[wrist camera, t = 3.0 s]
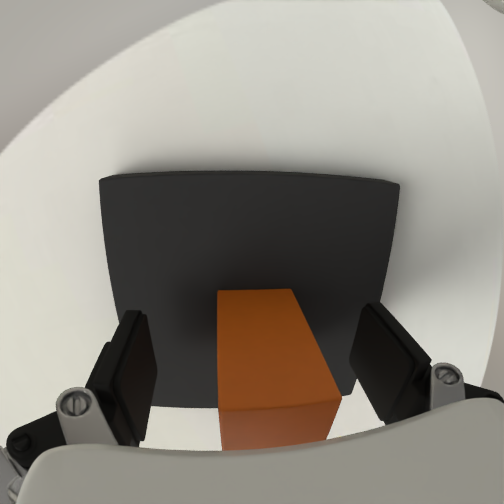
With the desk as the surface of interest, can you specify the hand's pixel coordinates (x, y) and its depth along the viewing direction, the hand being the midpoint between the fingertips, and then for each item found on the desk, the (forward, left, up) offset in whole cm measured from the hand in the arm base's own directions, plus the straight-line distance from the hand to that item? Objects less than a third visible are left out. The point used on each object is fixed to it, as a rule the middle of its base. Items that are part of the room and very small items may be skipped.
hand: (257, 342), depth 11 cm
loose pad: (0, +1, -3) cm, 3 cm away
